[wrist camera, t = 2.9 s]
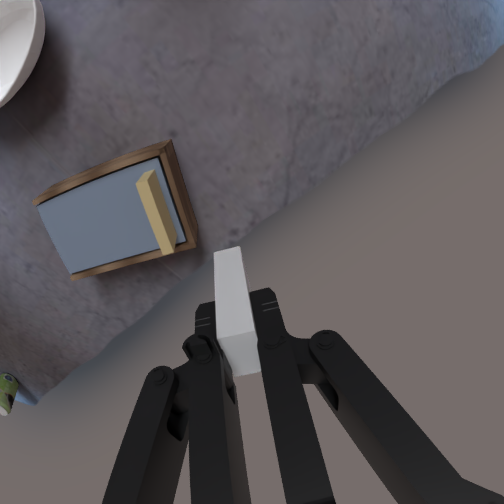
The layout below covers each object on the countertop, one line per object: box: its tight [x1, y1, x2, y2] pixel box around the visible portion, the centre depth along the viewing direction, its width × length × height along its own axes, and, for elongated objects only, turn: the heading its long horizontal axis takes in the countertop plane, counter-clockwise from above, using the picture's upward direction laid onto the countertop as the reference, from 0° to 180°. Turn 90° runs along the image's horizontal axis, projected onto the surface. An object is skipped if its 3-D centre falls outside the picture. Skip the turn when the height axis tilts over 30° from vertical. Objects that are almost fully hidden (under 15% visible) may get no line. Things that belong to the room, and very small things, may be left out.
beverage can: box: [0, 373, 18, 416], centre depth 46 cm, size 6×7×12 cm
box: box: [32, 139, 198, 281], centre depth 33 cm, size 18×12×6 cm, turn 102°
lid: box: [36, 156, 186, 274], centre depth 29 cm, size 17×10×5 cm, turn 102°
